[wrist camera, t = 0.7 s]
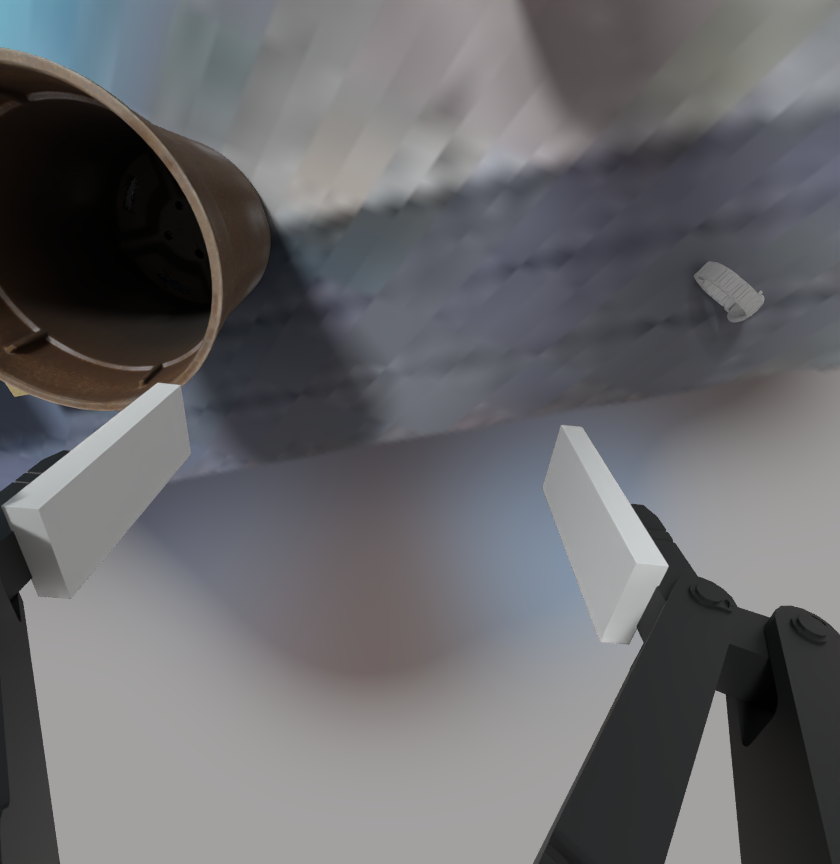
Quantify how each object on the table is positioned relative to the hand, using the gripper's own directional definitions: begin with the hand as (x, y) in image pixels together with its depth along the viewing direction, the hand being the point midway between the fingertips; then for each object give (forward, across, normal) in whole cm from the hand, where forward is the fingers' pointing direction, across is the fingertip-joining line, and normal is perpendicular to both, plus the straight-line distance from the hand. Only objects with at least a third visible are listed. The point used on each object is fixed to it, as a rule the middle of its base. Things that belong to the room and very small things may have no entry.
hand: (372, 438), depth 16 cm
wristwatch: (+26, +25, +3) cm, 36 cm away
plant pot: (+26, -17, +3) cm, 31 cm away
